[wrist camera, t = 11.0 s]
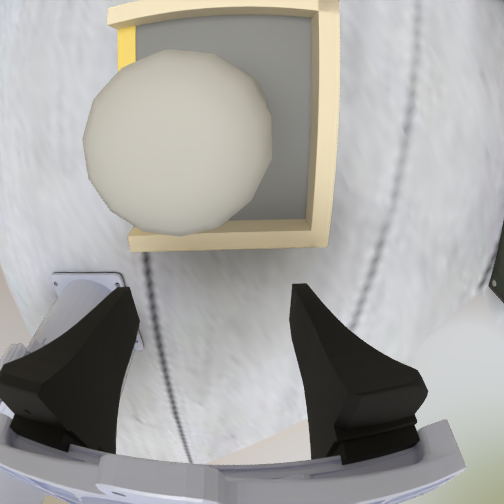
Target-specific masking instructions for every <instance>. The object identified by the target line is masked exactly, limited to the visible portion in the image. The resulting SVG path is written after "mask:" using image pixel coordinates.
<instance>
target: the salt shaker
mask: <svg viewBox="0 0 504 504" xmlns="http://www.w3.org/2000/svg"><path fill="white" fill-rule="evenodd" d="M83 146H84V153H85V160H86V166H87V172H88V178H89V180H90V181H91V183H92V184H93V186H94V187H95V189H96V190H97V192H98V193H99V195H100V196H101V198H102V199H103V201H104V202H105V203H106V205H107V206H108V208H109V209H110V210H111V211H112V212H114V213H115V214H117V215H118V216H120V217H121V218H123V219H124V220H126V221H127V222H129V223H131V224H132V225H134V226H135V227H137V228H138V229H140V230H141V231H144V232H151V233H158V234H165V235H172V236H179V237H182V236H186V235H190V234H194V233H198V232H202V231H206V230H210V229H214V228H218V227H220V226H221V225H223V224H224V223H225V222H226V221H227V220H229V219H230V218H231V217H232V216H233V215H235V214H236V213H237V212H238V211H239V210H241V209H242V208H243V207H244V206H246V205H247V204H248V203H249V202H250V201H251V200H252V198H253V196H254V194H255V192H256V190H257V188H258V186H259V184H260V182H261V180H262V178H263V176H264V174H265V172H266V170H267V168H268V166H269V164H270V162H271V159H272V122H271V114H270V112H269V110H268V108H267V100H266V98H265V96H264V94H263V92H262V90H261V88H260V86H259V85H258V83H257V81H256V79H255V78H253V77H252V76H250V75H249V74H247V73H246V72H244V71H243V70H241V69H240V68H238V67H237V66H235V65H232V64H230V63H228V62H227V61H225V60H224V59H222V58H220V57H219V56H217V55H215V54H211V53H204V52H195V51H185V50H173V49H169V50H163V51H160V52H158V53H155V54H153V55H150V56H148V57H145V58H143V59H141V60H138V61H136V62H134V63H131V64H129V65H127V66H125V67H123V68H122V69H121V70H120V71H119V72H118V73H117V74H116V75H115V76H114V77H113V78H112V79H111V80H110V81H109V83H108V84H107V85H106V86H105V87H104V88H103V89H102V90H101V92H100V93H99V94H98V95H97V96H96V97H95V99H94V100H93V103H92V107H91V110H90V114H89V117H88V121H87V124H86V128H85V132H84V136H83Z"/></svg>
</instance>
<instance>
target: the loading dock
mask: <svg viewBox="0 0 504 504" xmlns="http://www.w3.org/2000/svg"><path fill="white" fill-rule="evenodd" d="M107 25H108V26H111V27H113V28H115V29H117V30H118V72H119V71H120V70H121V69H122V68H123V67H125V66H127V65H129V64H131V63H134V62H136V61H138V60H141V59H143V58H145V57H148V56H150V55H153V54H155V53H158V52H160V51H163V50H169V49H173V50H185V51H195V52H204V53H211V54H215V55H217V56H219V57H220V58H222V59H224V60H225V61H227V62H228V63H230V64H232V65H235V66H237V67H238V68H240V69H241V70H243V71H244V72H246V73H247V74H249V75H250V76H252V77H253V78H255V79H256V81H257V83H258V85H259V86H260V88H261V90H262V92H263V94H264V96H265V98H266V100H267V108H268V110H269V112H270V114H271V122H272V159H271V162H270V164H269V166H268V168H267V170H266V172H265V174H264V176H263V178H262V180H261V182H260V184H259V186H258V188H257V190H256V192H255V194H254V196H253V198H252V200H251V201H250V202H249V203H248V204H247V205H246V206H244V207H243V208H242V209H241V210H239V211H238V212H237V213H236V214H235V215H233V216H232V217H231V218H230V219H229V220H227V221H226V222H225V223H224V224H223V225H221V226H220V227H218V228H214V229H210V230H206V231H202V232H198V233H194V234H190V235H186V236H182V237H179V236H172V235H165V234H158V233H151V232H144V231H141V230H140V229H138V228H137V227H135V226H134V227H133V229H132V230H131V232H130V233H129V235H128V236H127V237H128V242H129V246H130V251H131V252H159V251H194V250H231V249H269V248H309V247H327V246H328V238H329V230H330V221H331V212H332V202H333V192H334V181H335V169H336V155H337V140H338V122H339V96H340V20H339V0H139V1H134V2H130V3H126V4H122V5H118V6H114V7H110V8H108V19H107Z"/></svg>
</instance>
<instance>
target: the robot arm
mask: <svg viewBox="0 0 504 504" xmlns="http://www.w3.org/2000/svg"><path fill="white" fill-rule="evenodd" d="M50 279H51V282H52V285H53V287H54V290H55V292H56V294H57V297H58V298H57V300H56V301H55V303H54V304H53V306H52V308H51V309H50V311H49V312H48V314H47V315H46V317H45V318H44V320H43V322H42V323H41V325H40V326H39V328H38V330H37V331H36V333H35V335H34V336H33V338H32V340H31V341H30V343H29V345H28V346H27V347H25V346H24V345H23V344H22V343H18V344H12V345H10V347H9V348H8V349H7V350H6V352H5V353H4V355H3V356H2V358H1V359H0V504H42V502H43V500H44V498H45V497H46V496H49V495H51V496H53V497H55V498H58V499H60V500H62V501H65V502H68V503H70V504H399V503H402V502H405V501H407V500H410V499H413V498H415V497H418V496H420V495H423V494H425V493H427V492H430V491H432V490H435V489H436V488H438V487H440V486H441V485H443V484H444V483H446V482H448V481H449V480H451V479H452V478H454V477H455V476H457V475H458V474H459V473H461V472H462V471H464V470H465V468H466V466H465V463H464V460H463V458H462V455H461V453H460V450H459V447H458V445H457V442H456V440H455V438H454V435H453V433H452V430H451V428H450V426H449V423H448V421H447V420H442V421H439V422H436V423H434V424H430V425H427V426H425V427H423V428H421V429H419V430H418V431H417V430H416V428H415V426H414V425H415V424H416V423H417V419H416V417H415V413H416V412H417V410H418V409H419V408H420V406H421V405H422V404H423V402H424V400H425V399H426V397H427V393H428V390H427V388H426V386H425V383H424V381H423V379H422V377H421V375H420V374H419V372H418V370H416V369H414V368H412V367H409V366H407V365H405V364H402V363H400V362H398V361H396V360H394V359H392V358H390V357H388V356H386V355H384V354H383V353H381V352H379V351H378V350H376V349H375V348H373V347H372V346H370V345H368V344H367V343H366V342H364V341H363V340H361V339H360V338H359V337H358V336H356V335H355V334H354V333H352V332H351V331H350V330H349V329H348V328H347V327H345V326H344V325H343V324H342V323H341V322H340V321H339V320H338V319H337V318H336V317H335V316H334V315H333V314H332V313H331V311H330V310H329V309H328V308H327V307H326V306H325V305H324V304H323V303H322V301H321V300H320V299H319V298H318V297H317V295H316V294H315V293H314V292H313V291H312V289H311V288H310V287H309V286H308V285H307V284H306V283H303V284H292V295H291V306H290V317H289V321H290V329H291V336H292V342H293V345H294V349H295V353H296V357H297V361H298V365H299V368H300V372H301V376H302V380H303V385H304V391H305V398H306V406H307V414H308V423H309V433H310V444H311V460H306V461H297V462H287V463H275V464H259V465H202V464H190V463H178V462H167V461H158V460H150V459H143V458H136V457H130V456H124V455H117V454H116V437H117V416H118V408H119V400H120V396H121V394H122V391H123V388H124V384H125V381H126V377H127V374H128V370H129V367H130V364H131V360H132V357H133V354H134V351H135V350H137V351H141V350H143V348H144V345H143V342H142V339H141V336H140V334H139V331H138V328H139V322H140V320H139V317H138V314H137V311H136V307H135V304H134V301H133V297H132V294H131V290H130V287H125V286H124V283H123V279H122V276H121V275H120V274H118V273H53V274H52V275H51V276H50ZM56 282H57V283H56ZM116 282H117V283H119V284H120V285H118V284H117V283H116Z"/></svg>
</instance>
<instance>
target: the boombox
mask: <svg viewBox="0 0 504 504" xmlns="http://www.w3.org/2000/svg"><path fill="white" fill-rule="evenodd" d="M489 287H490V288H491V289H492V290H493V292H494V293H495V294H496V295H497V296H498V297H499V298H500V299H501V301H502V302H503V303H504V221H503V227H502V232H501V238H500V242H499V247H498V251H497V256H496V260H495V264H494V268H493V272H492V275H491V279H490V282H489Z"/></svg>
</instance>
